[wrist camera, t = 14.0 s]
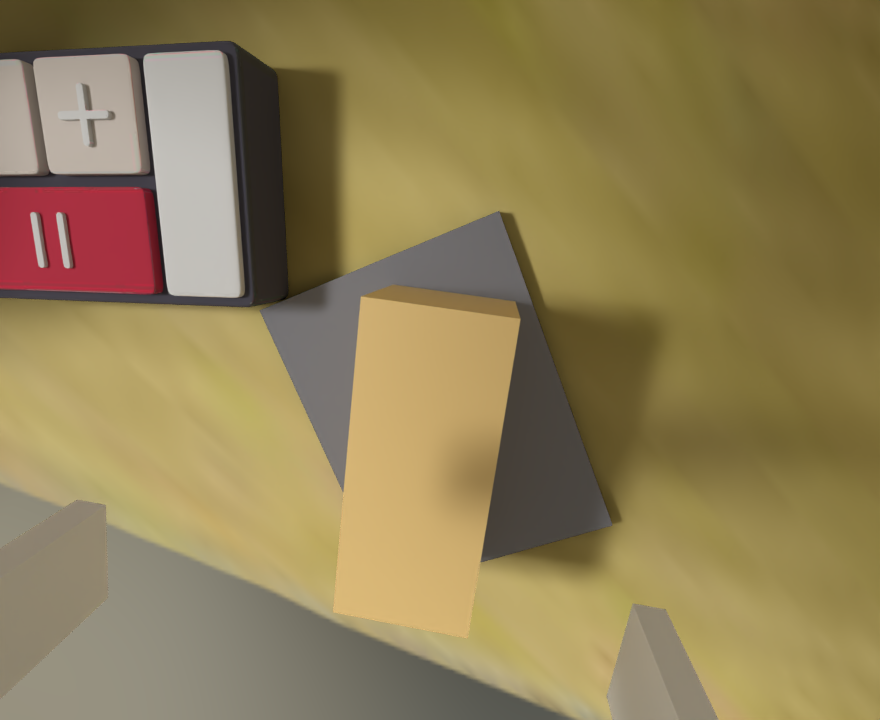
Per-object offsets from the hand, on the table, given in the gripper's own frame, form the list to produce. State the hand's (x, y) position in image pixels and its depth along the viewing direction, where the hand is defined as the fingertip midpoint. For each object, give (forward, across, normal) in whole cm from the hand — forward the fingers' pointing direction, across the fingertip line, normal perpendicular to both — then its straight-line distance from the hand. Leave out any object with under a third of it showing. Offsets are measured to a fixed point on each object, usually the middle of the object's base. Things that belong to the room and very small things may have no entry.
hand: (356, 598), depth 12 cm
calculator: (+16, -16, +9) cm, 24 cm away
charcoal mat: (+14, +1, 0) cm, 15 cm away
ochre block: (+11, +1, -8) cm, 13 cm away
